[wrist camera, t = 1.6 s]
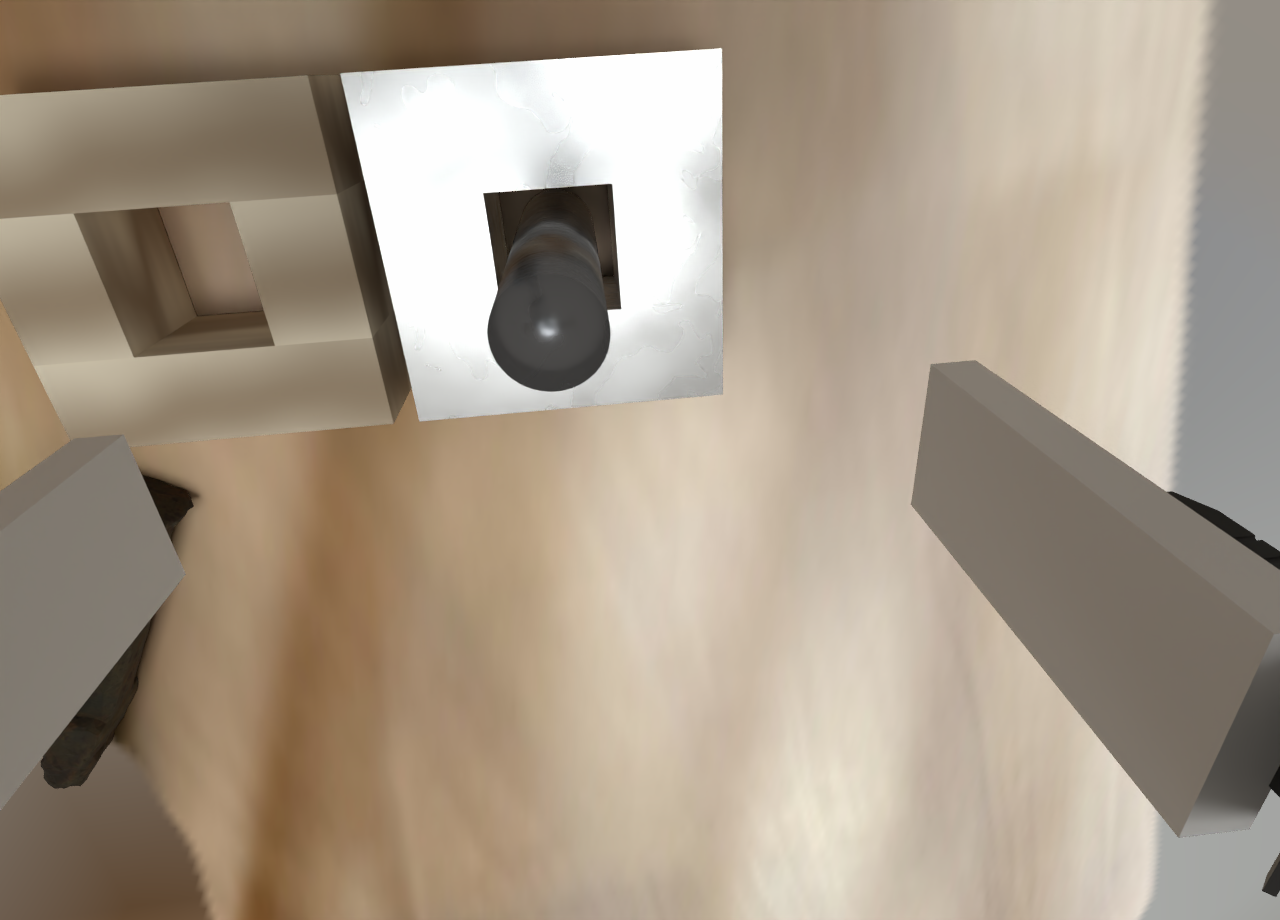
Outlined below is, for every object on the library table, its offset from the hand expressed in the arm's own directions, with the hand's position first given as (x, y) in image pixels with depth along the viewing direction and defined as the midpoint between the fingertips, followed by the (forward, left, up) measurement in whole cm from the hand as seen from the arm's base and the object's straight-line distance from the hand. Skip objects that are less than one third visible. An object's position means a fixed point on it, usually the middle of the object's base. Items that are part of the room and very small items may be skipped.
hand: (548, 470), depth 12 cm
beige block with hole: (0, -13, -20) cm, 24 cm away
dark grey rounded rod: (0, 0, -20) cm, 20 cm away
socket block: (0, 0, -20) cm, 20 cm away
